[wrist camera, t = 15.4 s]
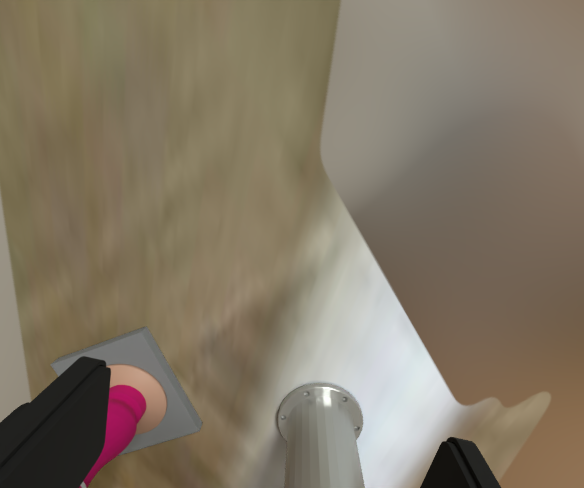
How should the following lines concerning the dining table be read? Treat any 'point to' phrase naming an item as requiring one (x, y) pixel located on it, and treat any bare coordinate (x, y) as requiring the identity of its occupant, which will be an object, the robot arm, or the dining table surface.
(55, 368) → the slate board
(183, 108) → the dining table surface
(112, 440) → the pepper mill
